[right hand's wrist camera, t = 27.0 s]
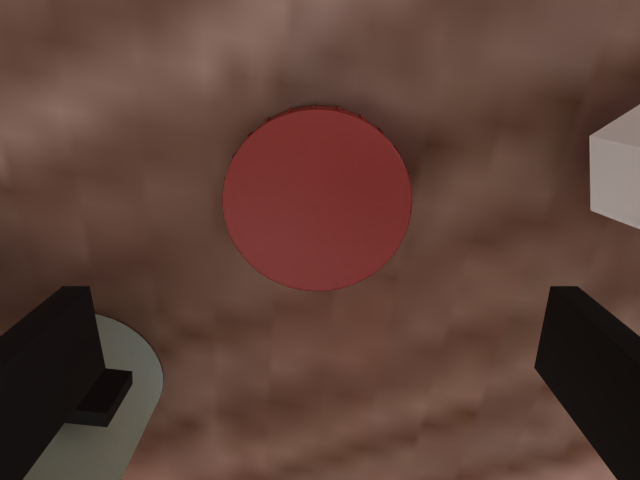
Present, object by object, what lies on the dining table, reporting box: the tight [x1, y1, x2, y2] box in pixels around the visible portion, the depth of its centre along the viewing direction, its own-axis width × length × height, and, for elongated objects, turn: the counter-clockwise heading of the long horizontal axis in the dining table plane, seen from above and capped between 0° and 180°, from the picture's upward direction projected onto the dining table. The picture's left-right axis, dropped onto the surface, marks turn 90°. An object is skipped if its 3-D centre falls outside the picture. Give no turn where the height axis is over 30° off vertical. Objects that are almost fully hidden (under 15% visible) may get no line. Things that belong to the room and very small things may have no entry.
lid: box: [222, 104, 412, 291], centre depth 22 cm, size 9×9×2 cm
